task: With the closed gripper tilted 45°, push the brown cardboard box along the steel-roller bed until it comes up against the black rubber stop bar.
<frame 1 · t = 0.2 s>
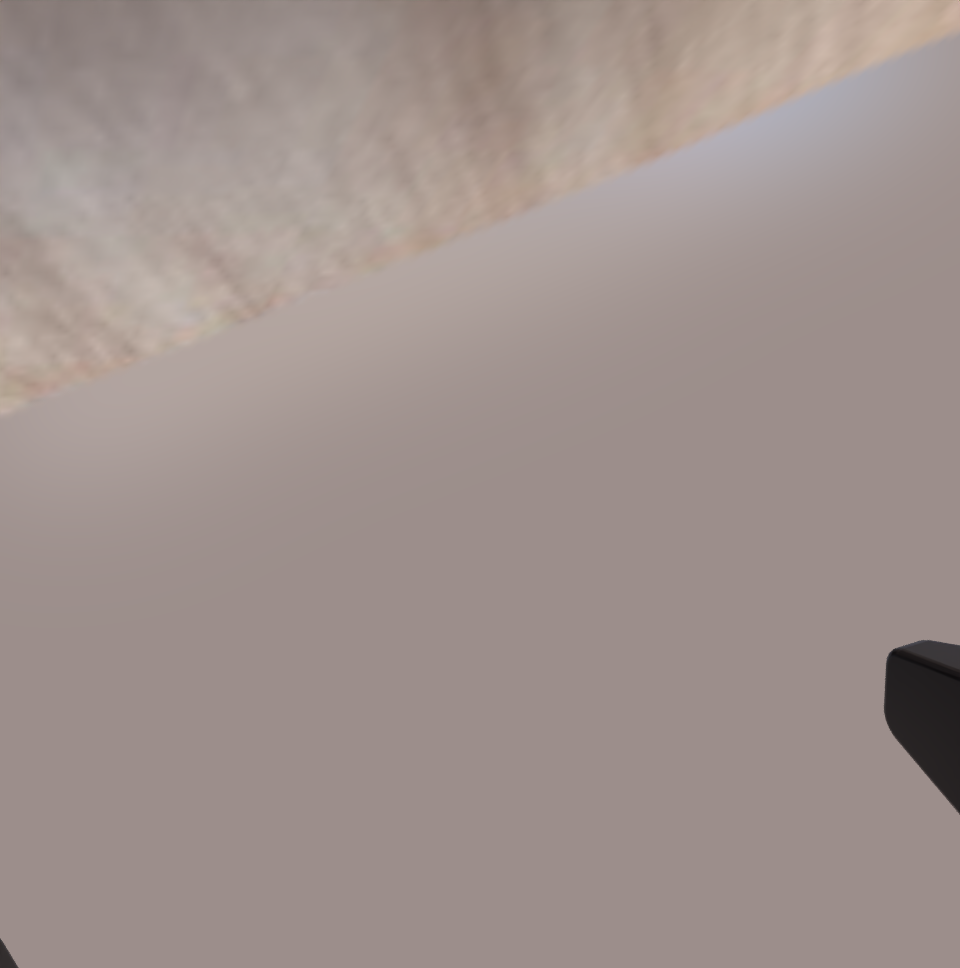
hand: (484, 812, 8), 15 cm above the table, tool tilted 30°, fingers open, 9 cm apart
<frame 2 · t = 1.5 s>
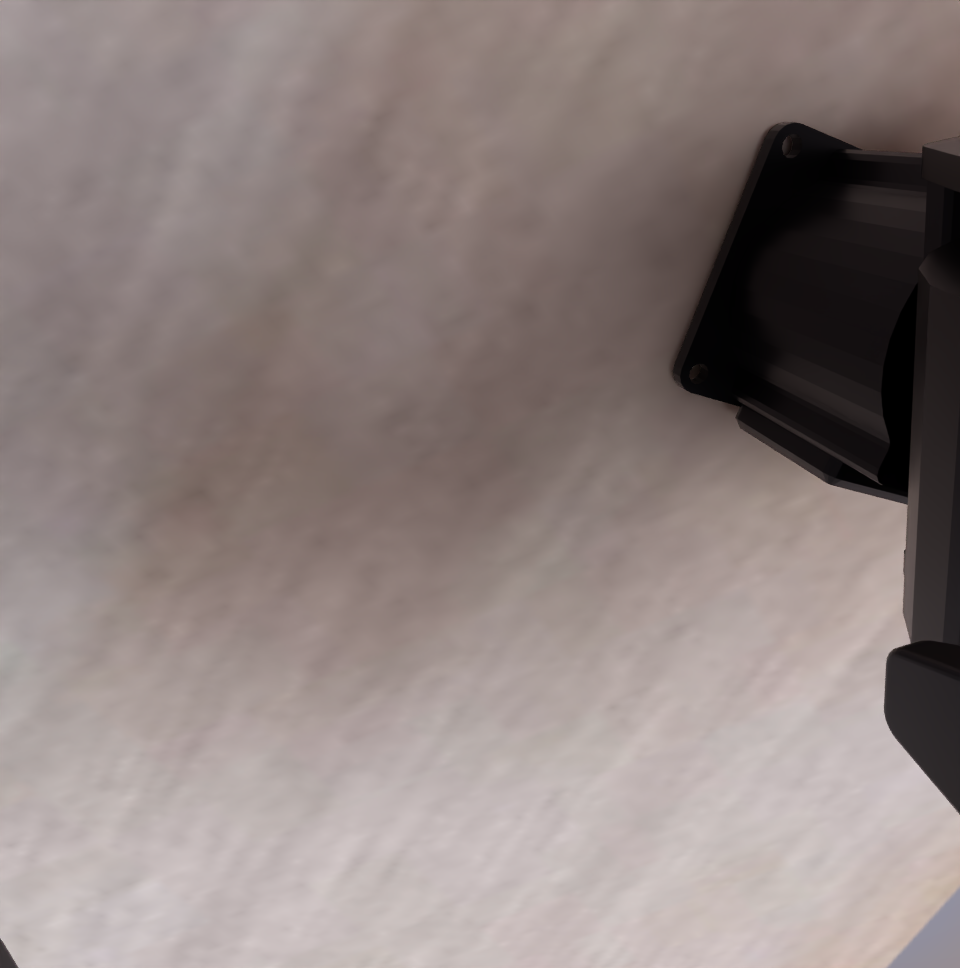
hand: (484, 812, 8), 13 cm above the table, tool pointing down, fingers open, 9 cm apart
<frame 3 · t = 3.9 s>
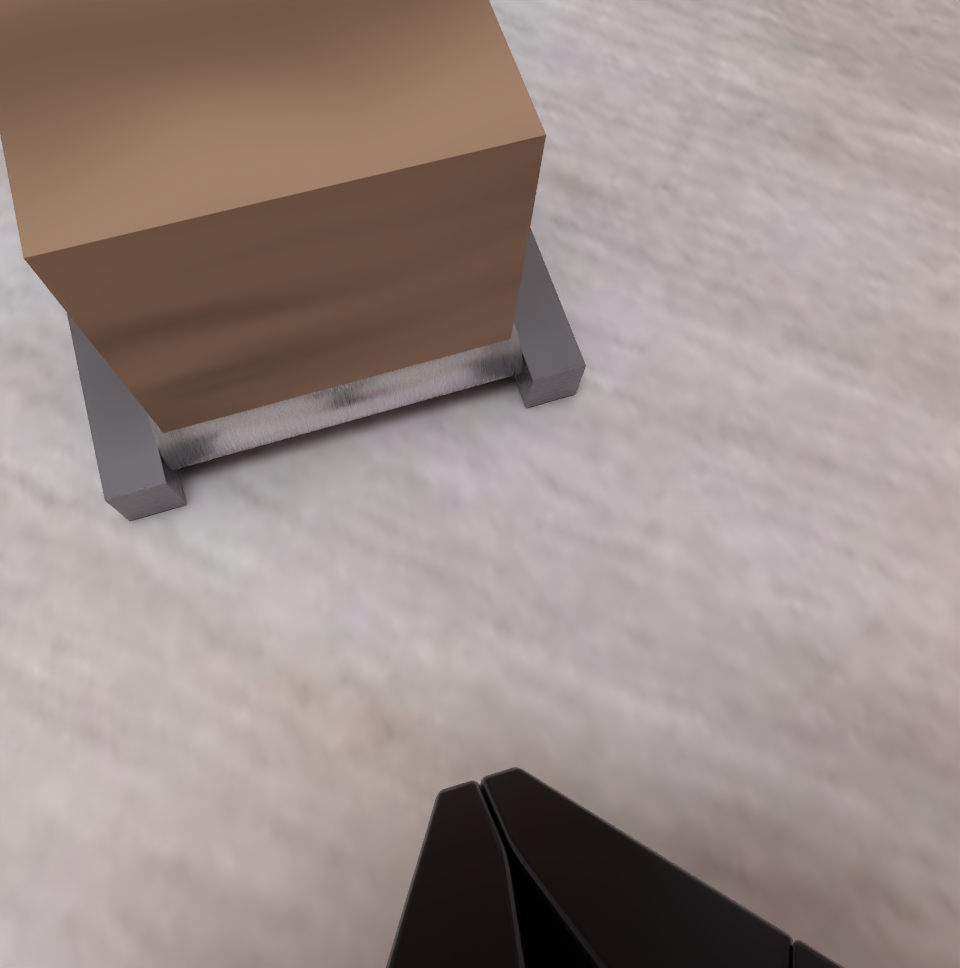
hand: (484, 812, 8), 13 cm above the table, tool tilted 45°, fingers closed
roller bed: (284, 203, 26), on the table
brown cardboard box: (277, 157, 19), point 6 cm above the table, slide at 0.0 cm
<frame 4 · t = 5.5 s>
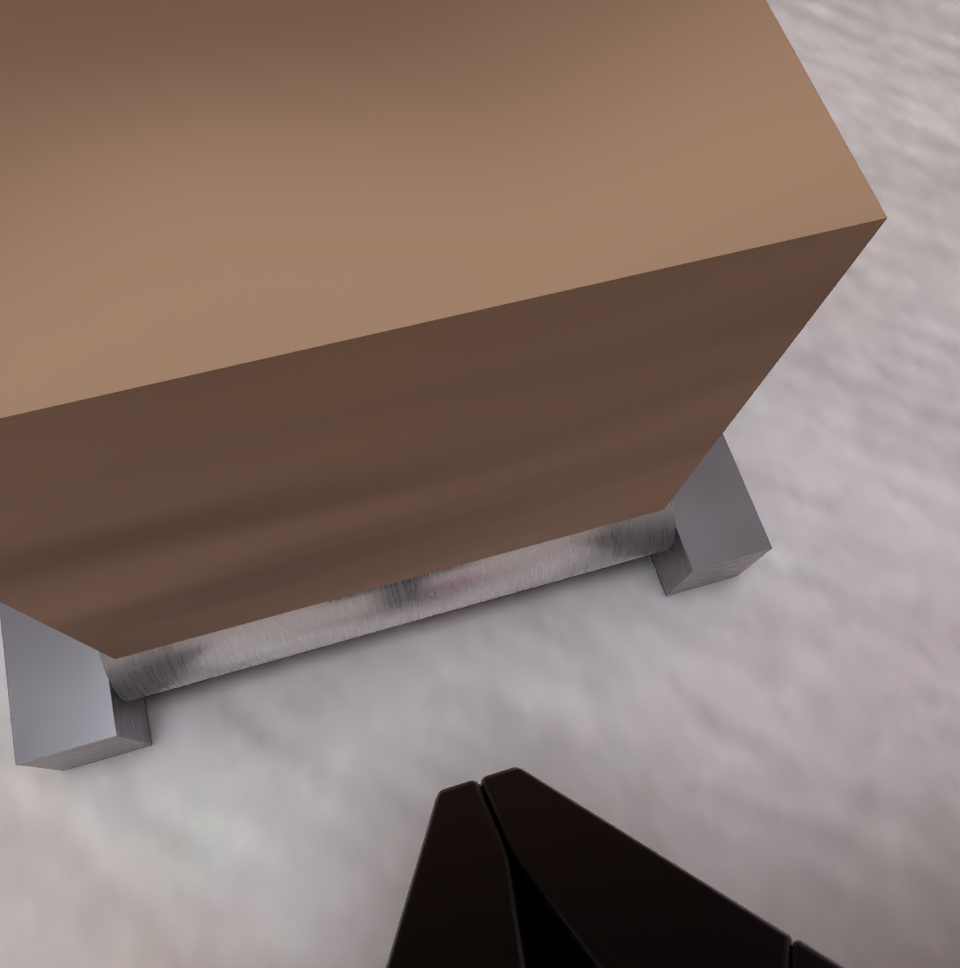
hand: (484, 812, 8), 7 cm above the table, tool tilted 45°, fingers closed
roller bed: (316, 281, 18), on the table
brown cardboard box: (319, 229, 11), point 6 cm above the table, slide at 0.0 cm
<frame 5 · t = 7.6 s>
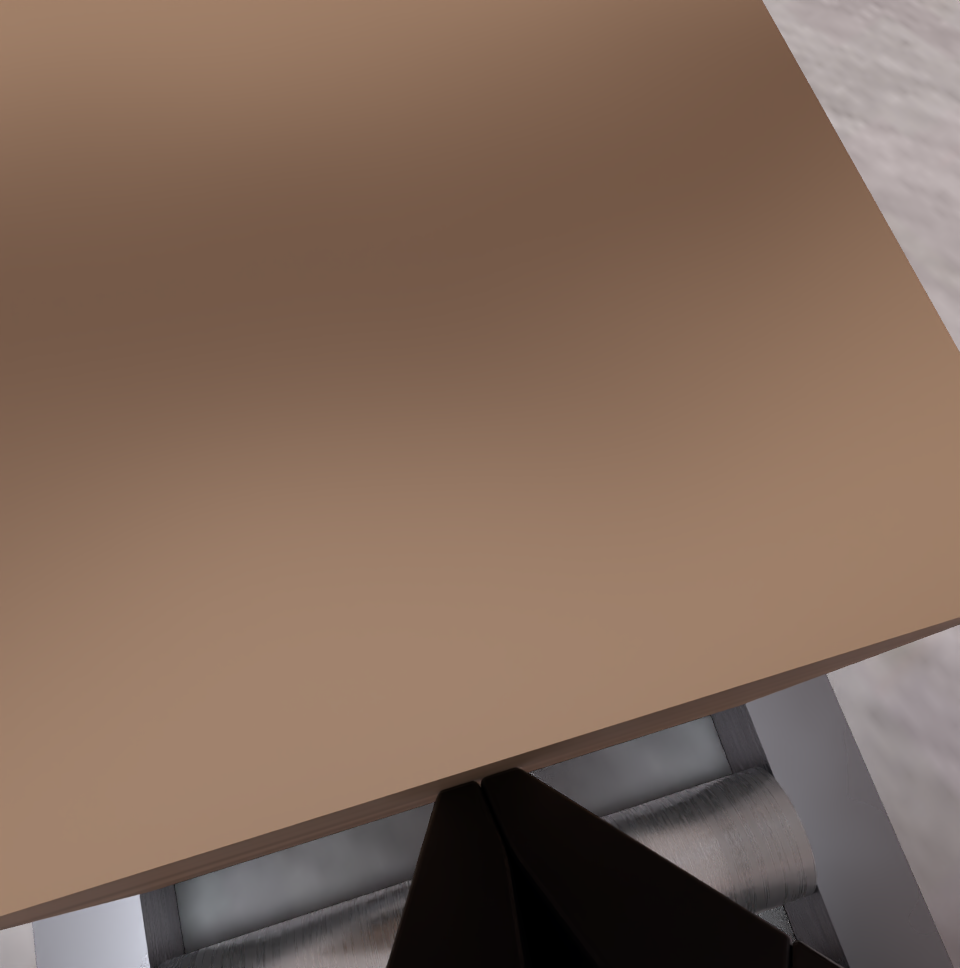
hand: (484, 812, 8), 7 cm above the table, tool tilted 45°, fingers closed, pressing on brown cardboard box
roller bed: (425, 683, 16), on the table
brown cardboard box: (379, 449, 10), point 6 cm above the table, slide at 5.6 cm, touching gripper
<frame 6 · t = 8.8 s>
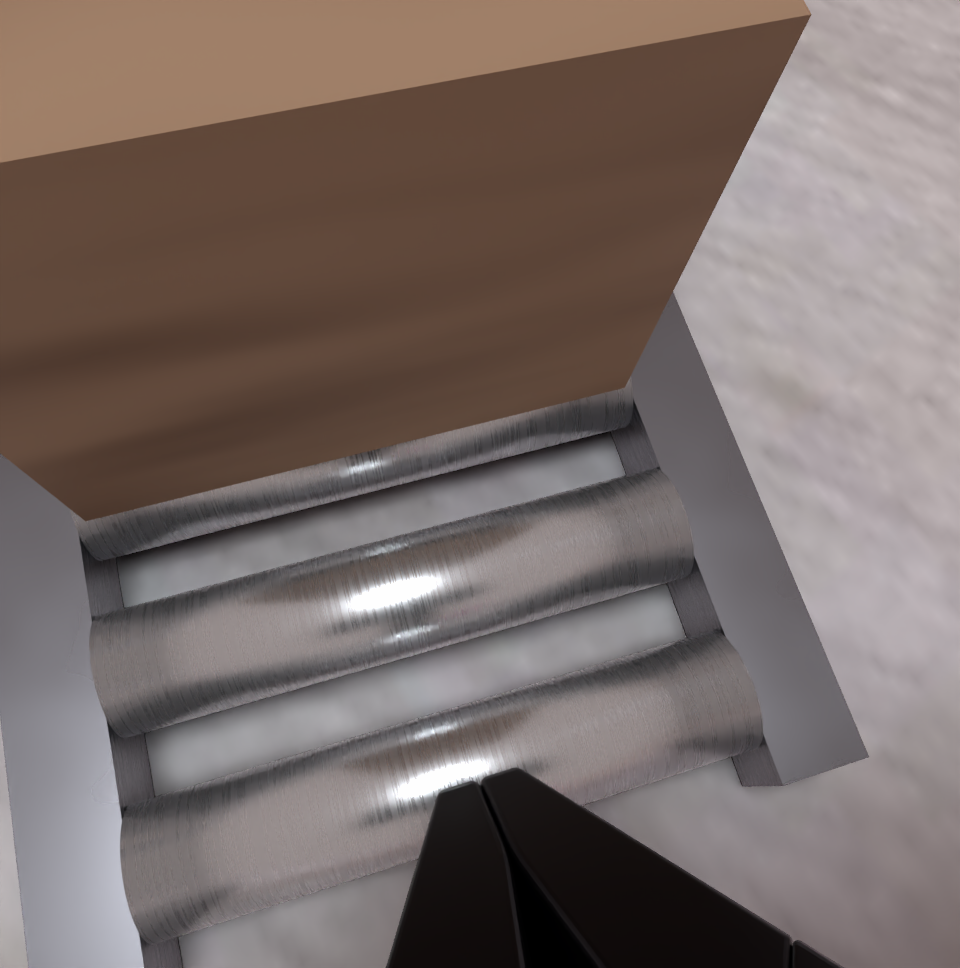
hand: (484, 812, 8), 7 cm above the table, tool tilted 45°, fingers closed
roller bed: (353, 417, 17), on the table
brown cardboard box: (280, 86, 12), point 6 cm above the table, slide at 5.8 cm
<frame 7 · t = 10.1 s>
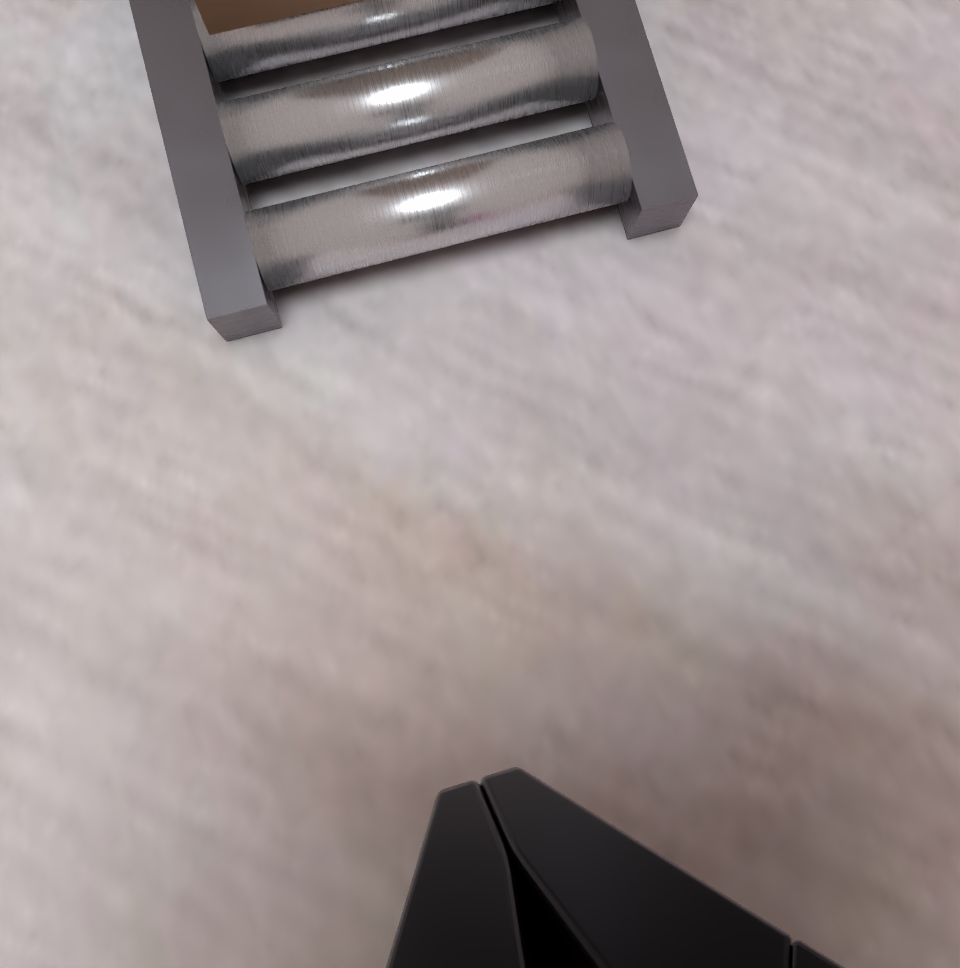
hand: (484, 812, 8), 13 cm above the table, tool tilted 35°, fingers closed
roller bed: (377, 0, 24), on the table
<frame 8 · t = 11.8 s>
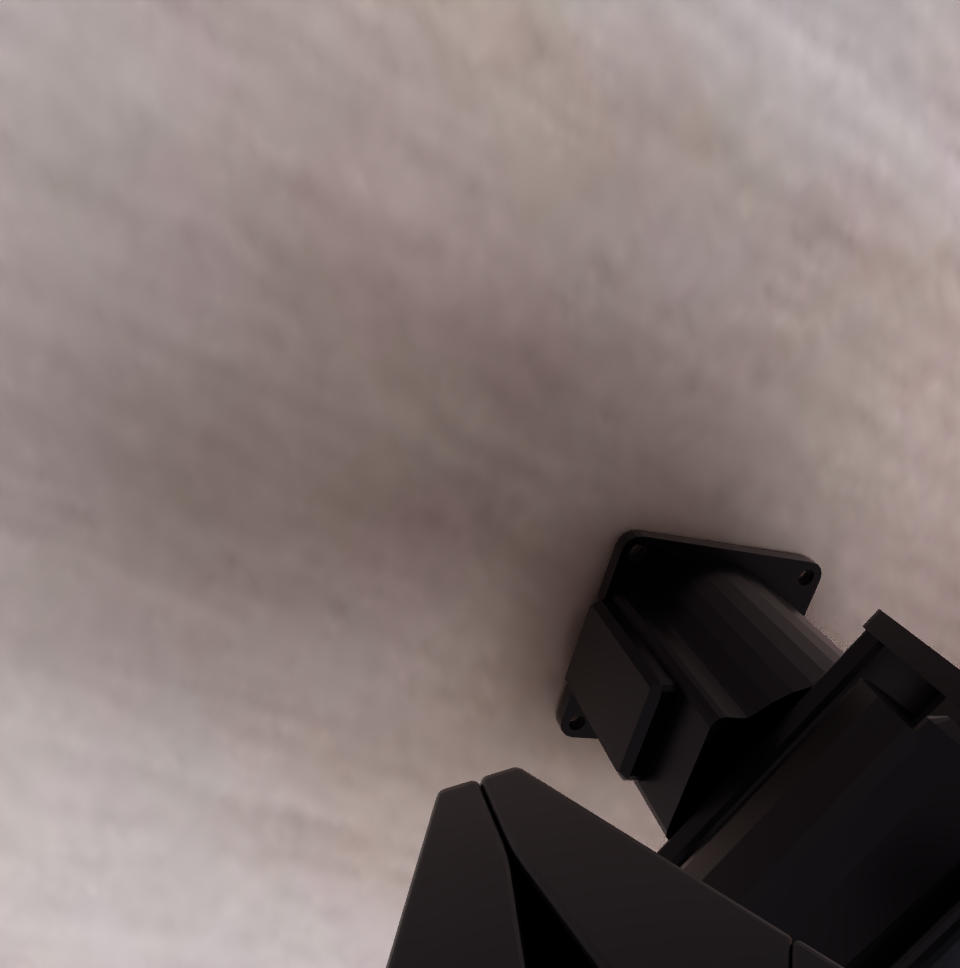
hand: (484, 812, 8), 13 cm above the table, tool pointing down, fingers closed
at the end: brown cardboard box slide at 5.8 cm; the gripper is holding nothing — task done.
